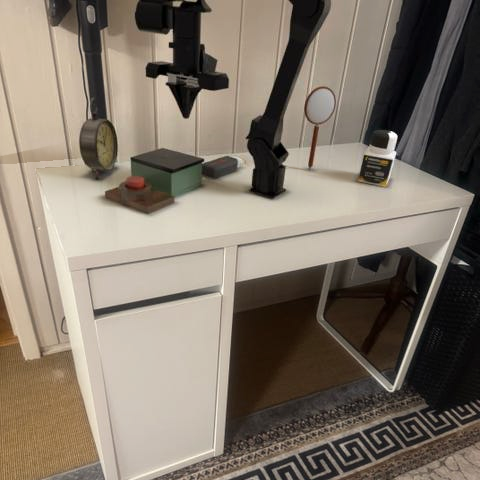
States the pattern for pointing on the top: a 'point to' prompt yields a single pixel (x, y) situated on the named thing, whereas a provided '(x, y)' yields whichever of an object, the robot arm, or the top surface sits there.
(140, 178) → the button
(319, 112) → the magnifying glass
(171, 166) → the cooker lid
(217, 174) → the usb drive
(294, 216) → the top surface
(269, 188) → the robot arm
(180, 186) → the cooker
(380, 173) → the medicine bottle
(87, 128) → the alarm clock
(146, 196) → the control block
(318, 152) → the top surface
